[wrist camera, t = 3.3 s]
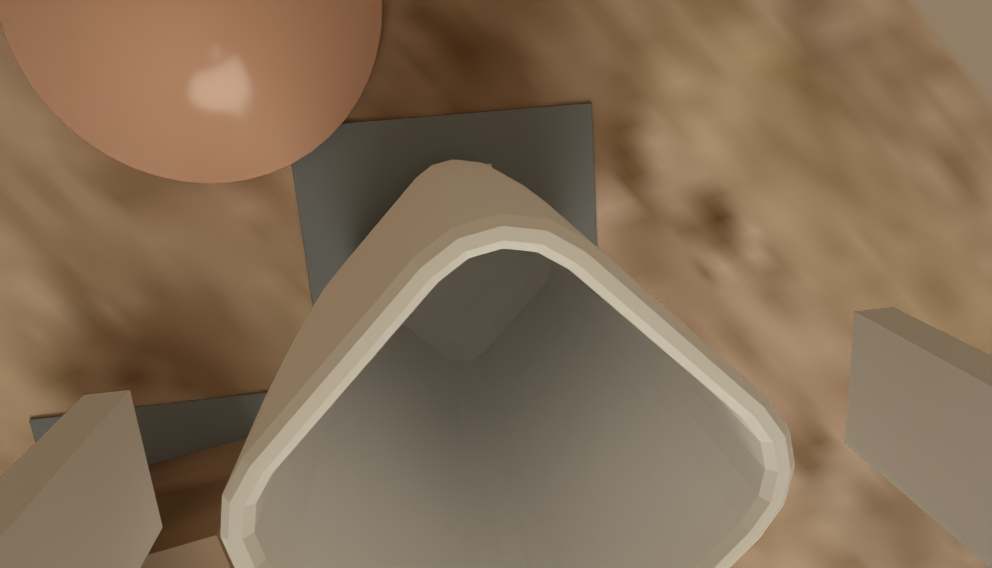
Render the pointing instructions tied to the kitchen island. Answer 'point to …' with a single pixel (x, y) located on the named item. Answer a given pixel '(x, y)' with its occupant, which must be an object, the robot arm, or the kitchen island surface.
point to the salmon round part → (198, 77)
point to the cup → (499, 408)
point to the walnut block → (192, 508)
